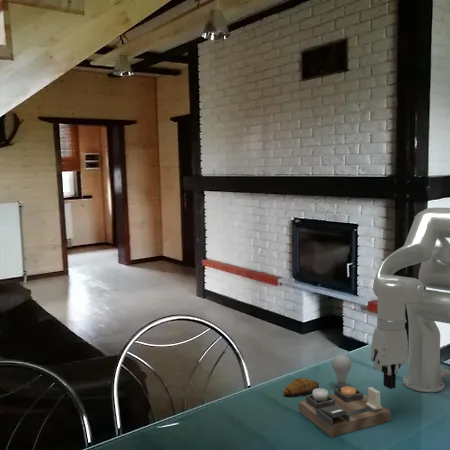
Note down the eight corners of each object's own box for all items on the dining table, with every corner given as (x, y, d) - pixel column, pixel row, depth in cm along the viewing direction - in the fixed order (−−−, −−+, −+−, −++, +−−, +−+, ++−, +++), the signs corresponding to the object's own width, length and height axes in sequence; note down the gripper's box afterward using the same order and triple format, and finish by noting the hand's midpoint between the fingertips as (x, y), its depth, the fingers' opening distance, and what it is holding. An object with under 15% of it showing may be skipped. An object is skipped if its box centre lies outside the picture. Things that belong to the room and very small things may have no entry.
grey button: (322, 392, 149) (322, 387, 149) (331, 398, 145) (331, 392, 145) (309, 395, 148) (309, 390, 147) (318, 401, 144) (318, 395, 143)
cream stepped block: (373, 403, 145) (373, 386, 145) (382, 408, 142) (382, 391, 142) (365, 405, 144) (365, 388, 144) (374, 410, 141) (374, 393, 140)
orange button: (349, 390, 153) (349, 385, 153) (359, 396, 149) (359, 390, 149) (337, 393, 152) (337, 387, 152) (346, 399, 148) (346, 393, 147)
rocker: (333, 408, 141) (332, 405, 141) (346, 414, 136) (345, 410, 136) (319, 412, 139) (319, 408, 139) (332, 418, 134) (332, 413, 134)
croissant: (291, 401, 155) (291, 386, 155) (278, 393, 161) (278, 378, 161) (325, 391, 162) (325, 376, 161) (311, 384, 168) (311, 369, 167)
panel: (354, 398, 156) (354, 383, 156) (390, 420, 141) (390, 404, 141) (298, 411, 148) (298, 396, 148) (330, 437, 134) (330, 420, 133)
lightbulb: (351, 392, 160) (351, 358, 159) (332, 391, 161) (332, 358, 160) (350, 384, 166) (350, 352, 165) (332, 383, 167) (331, 351, 166)
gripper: (401, 318, 149) (400, 378, 151) (361, 323, 143) (359, 386, 145) (421, 324, 142) (419, 387, 144) (378, 330, 136) (377, 396, 138)
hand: (389, 386), depth 144 cm, fingers closed
